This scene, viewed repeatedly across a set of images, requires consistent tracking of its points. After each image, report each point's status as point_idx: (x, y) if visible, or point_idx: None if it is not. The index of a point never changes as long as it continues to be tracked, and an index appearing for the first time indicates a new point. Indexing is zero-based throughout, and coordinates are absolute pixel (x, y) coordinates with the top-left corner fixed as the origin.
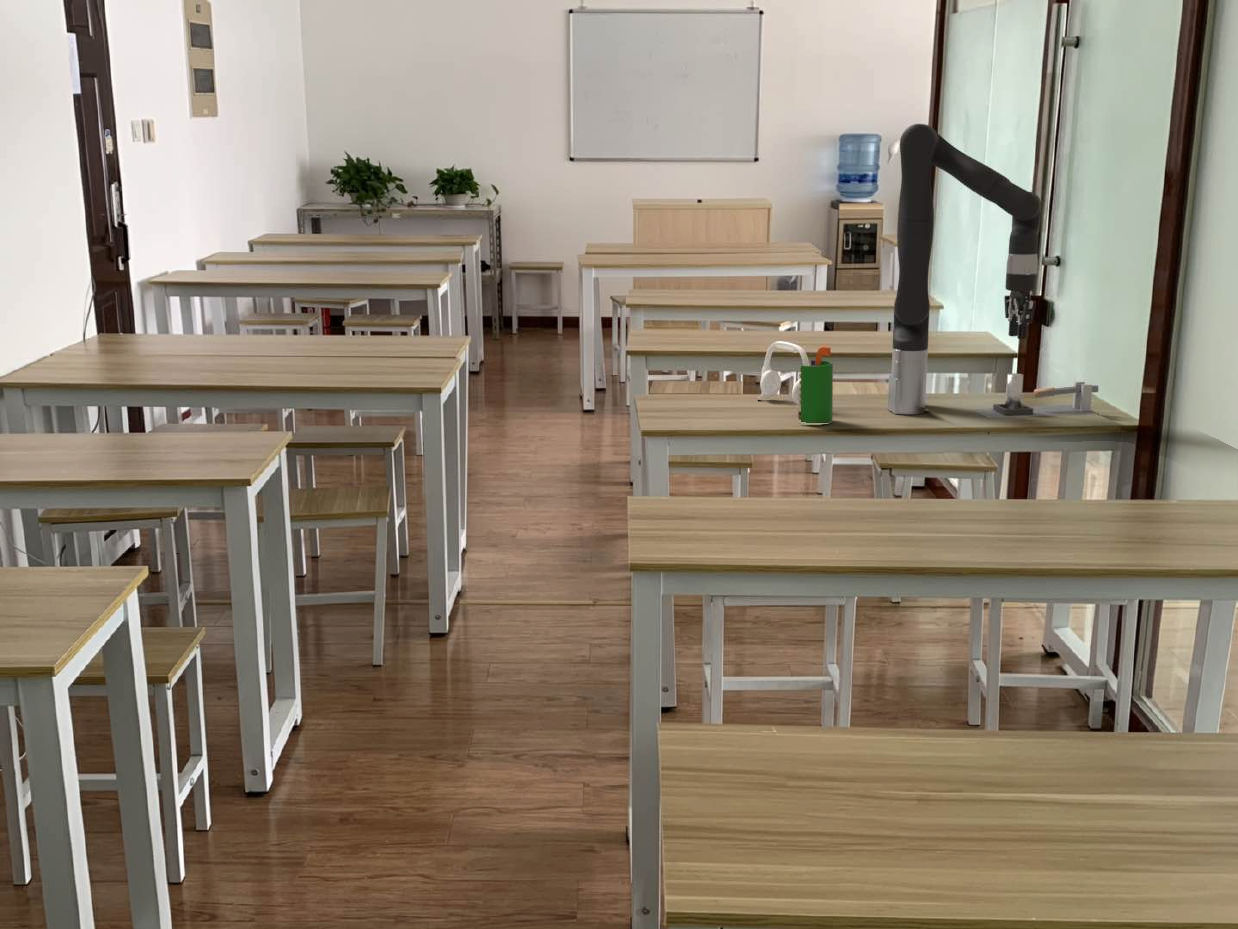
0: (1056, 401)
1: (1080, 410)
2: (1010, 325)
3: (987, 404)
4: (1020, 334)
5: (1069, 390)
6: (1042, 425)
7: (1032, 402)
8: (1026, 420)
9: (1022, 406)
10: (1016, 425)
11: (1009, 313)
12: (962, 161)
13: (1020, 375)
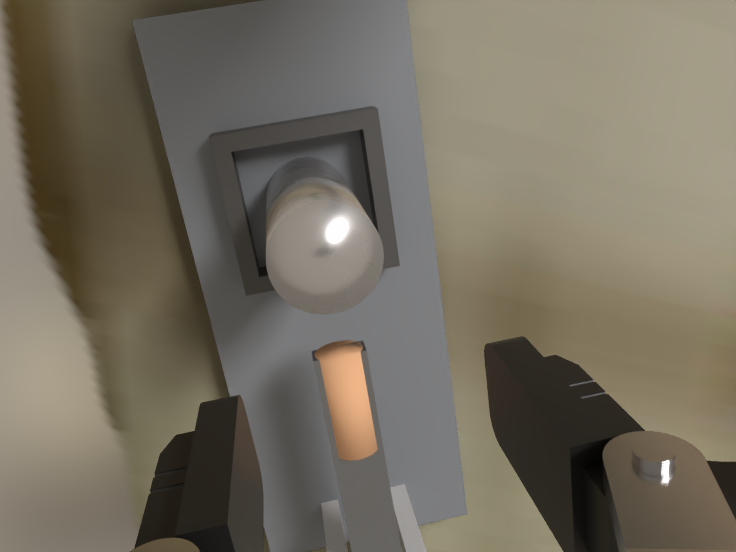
0: None
1: (331, 502)
2: (543, 418)
3: (636, 146)
4: (187, 454)
5: (345, 520)
6: (124, 294)
7: (639, 360)
8: None
9: None
10: (113, 167)
11: (728, 549)
12: None
13: (292, 290)
